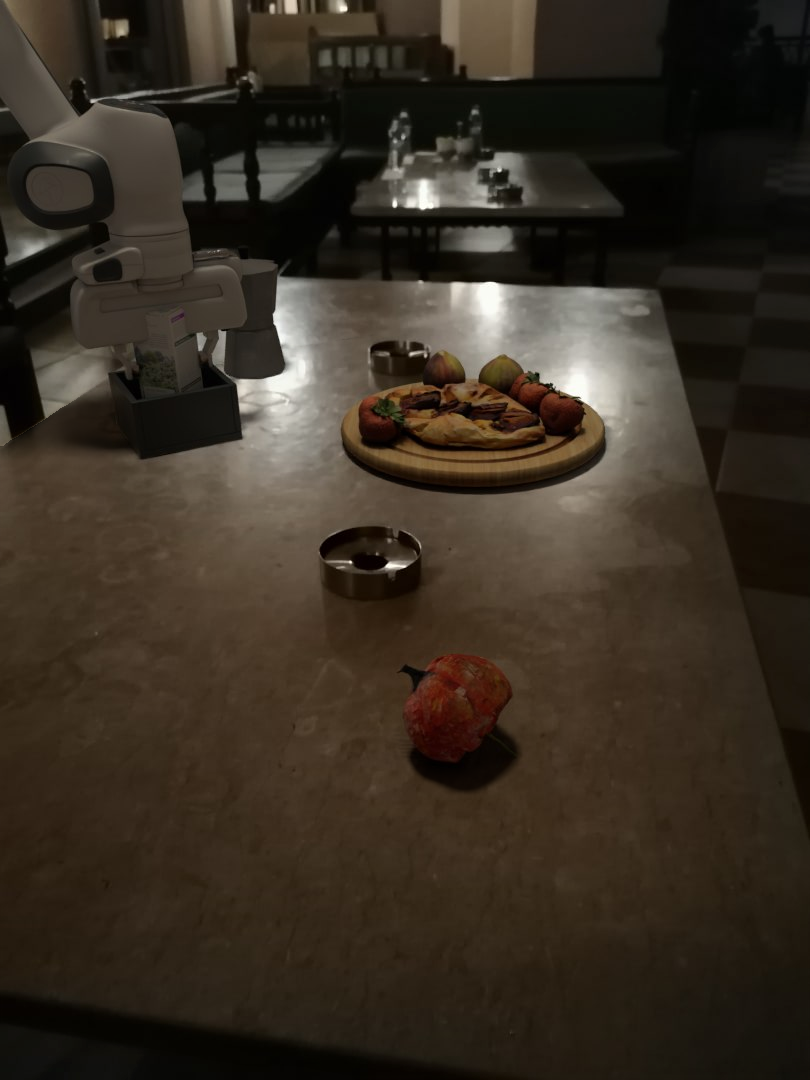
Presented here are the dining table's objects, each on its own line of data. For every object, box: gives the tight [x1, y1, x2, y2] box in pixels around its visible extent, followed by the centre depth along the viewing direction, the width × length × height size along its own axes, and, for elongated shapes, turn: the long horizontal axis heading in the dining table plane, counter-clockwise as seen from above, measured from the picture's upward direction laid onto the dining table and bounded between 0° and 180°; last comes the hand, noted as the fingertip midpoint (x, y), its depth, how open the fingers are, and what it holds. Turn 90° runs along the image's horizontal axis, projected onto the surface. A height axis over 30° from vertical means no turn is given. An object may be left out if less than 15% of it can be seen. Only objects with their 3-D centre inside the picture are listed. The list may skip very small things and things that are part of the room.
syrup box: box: [132, 306, 203, 399], centre depth 110 cm, size 6×6×14 cm
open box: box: [107, 363, 243, 460], centre depth 113 cm, size 13×13×7 cm
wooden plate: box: [340, 349, 606, 488], centre depth 109 cm, size 32×32×8 cm
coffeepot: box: [220, 244, 286, 380], centre depth 130 cm, size 15×9×18 cm, turn 153°
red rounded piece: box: [396, 653, 518, 764], centre depth 61 cm, size 7×7×10 cm
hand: (169, 372), depth 111 cm, fingers closed on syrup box, 7 cm apart
